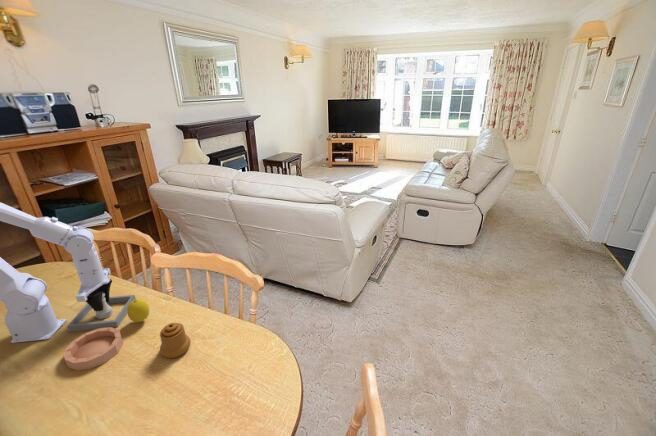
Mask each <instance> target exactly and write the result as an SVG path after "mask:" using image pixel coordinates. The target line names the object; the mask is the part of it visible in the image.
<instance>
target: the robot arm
mask: <svg viewBox="0 0 656 436" xmlns="http://www.w3.org/2000/svg"><path fill="white" fill-rule="evenodd" d="M0 222H3V223H5V224H9V225H13V226H16V227H19V228H23V229H26V230H29V232H30V234H31V236H32V237H35V238H37V239H41V240H42V241H47V242H50V243H51V244H56V245H58V246H61V247H64V250H65V251H66V252H67V253H68V254H70V255H71V257H72V261H73V264H74V267H75V269H76V273H77V276H78V277H79V281H80V287H79V290H78V293H77V295H75V299H76V301H77V303H82V302H84V303H86V304H87V303H88V304H89V305H90V306H91V307H92V310H93V311H94V312H96V311H102V310H103V302H102V294H103V293H105V296H104V297H105V298H106V299H105V301H106V303H108V302H109V297H110V291H111V286H112V282H113V281H112V278H108V276H110V275H111V269H110V268H109V267H107V268H103V267H102V264H101V261H100V256H99V255H98V251H97V250H96V249H97V248H96V247H95V244H94V243H93V242H94V239H95V235H94V233H93V232H92V230H90V229H89V228H87V227H85V226H79V227H78V226H76V225H74V226H72V225H71V224H70V225H69V224H67V223H65V222H62V221H59V218H58V217H55V216H52V217H49V216H41V217H36V216H33V215H32V214H29V213H26V212H24V211H22V210H20V209H17V208H15V207H12V206H10V205H8V204H5V203H3V202H0ZM47 289H48V284H47V283H46V281H44V280H43V279H41V278H38V277H34V276H33V275H31V274H30V273H28V272H20V271H18V270H17V269H16V268H15V267H13V266H12V265H10V263H8V262H7V261H6V260H5V259H3V258H2V257H1V256H0V301H1V302H2V303H3V304H4V305H5V309H6V310H7V312H6V313H5V316H4V324H5V327H6V328H7V330H8V332H9V334H10V336H11V337H12V340H10V343H12V344H15V343H23V342H33V341H43V340H50V339H51V338H52V337H53V336H54V335H55V333H56V332H57V331H58V330H59V329H60V328H61V327H62V326H63V324H64V323H66V321H67V319H66V318H61V319H57V316H56V314H55V311H54V309H53V307H52V304H51V301H50V299H49V298H48V296H47V295H46V294H45V292H46V291H47Z"/></svg>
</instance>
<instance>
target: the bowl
mask: <svg viewBox="0 0 656 436" xmlns="http://www.w3.org/2000/svg"><path fill="white" fill-rule="evenodd" d="M123 345H124V342H123V338H122V335H121V331H120V330H119V329H117V328H116V327H108V328H98V329H93V330H89V331H88V332H85V333H83V334H81V335H80V336H79V337H77V338H75V339H74V340H73V341H71V342H70V343H69V345H68V346H67V347H66V348H65V350H64V352H63V353H64V354H63V355H64V357H63V358H64V362H65V363H66V366H67V367H68V368H69V369H72V370H74V371H83V370H84V371H85V370H91V369H94V368H95V367H96V368H97V367H98V366H101V365H103V364H106V363H107V362H108V361H110V360H111V359H112V358H113V357H114V356H117V355H118V353H119V352H120V350H121V348H123Z"/></svg>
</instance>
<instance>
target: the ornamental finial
mask: <svg viewBox="0 0 656 436" xmlns="http://www.w3.org/2000/svg"><path fill="white" fill-rule="evenodd" d="M159 337H160V341H161V344H160V347H159V352H160V354H161V356H162V357H164V358H166V359H174V358H178V357H180V356H183V355H184V354H185V353H186V352H187V351H188V350H189V348H190V346H191V338H190V337H189V335H187V333H186V330H185V326H184V325H183V323H179V322H170V323H167V324H166V325H165V326H164V327H163V328H161V330H160V332H159Z"/></svg>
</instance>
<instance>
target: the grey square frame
mask: <svg viewBox="0 0 656 436" xmlns="http://www.w3.org/2000/svg"><path fill="white" fill-rule="evenodd" d="M136 299H137V298H136V295H135V294H129V295H117V296H115V295H114V296H109V302H108V303H107V304H108V305H110V304H119V303H125V304H124V305H123V308H121V309H120V311H119V312H118V314H117V316H116V317H115V318H114V319H111V320H102V321H93V322H92V321H91V322H82V320H83V319H85V317H86V316H87V315H88V313H90V311H91V310H93V308H92V307H91V306H90V305H89V304H88V303H87V302H86V304H85V305H84V306H83V308H81V309H80V311H79V312H78V313H77V314H76V316H75V317H74V318H73V319H72V320H71V321H70V322H69V324H67V325H66V328H67V331H68V333H71V332H82V331H93V330H96V329H98V328H108V327H112V328H118V327H119V326H120V324H121V323H122V321H123V320H124V318H125V317H126V315H128V314H127V309H128V306H129V304H130V303H131V302H132V301H134V300H136Z"/></svg>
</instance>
